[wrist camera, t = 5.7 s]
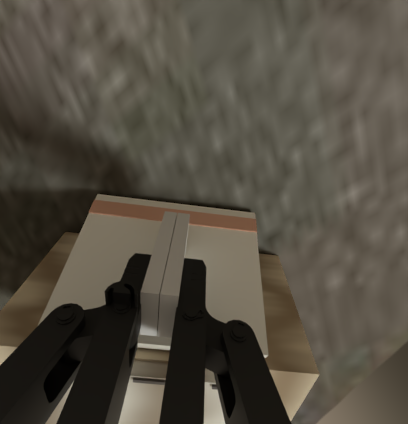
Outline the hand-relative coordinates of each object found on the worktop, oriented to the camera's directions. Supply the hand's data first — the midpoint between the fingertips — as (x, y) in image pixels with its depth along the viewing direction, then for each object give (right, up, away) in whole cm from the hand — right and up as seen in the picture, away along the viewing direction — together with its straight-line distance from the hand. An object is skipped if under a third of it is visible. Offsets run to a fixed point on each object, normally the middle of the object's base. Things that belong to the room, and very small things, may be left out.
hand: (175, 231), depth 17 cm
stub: (-1, -2, +1) cm, 3 cm away
